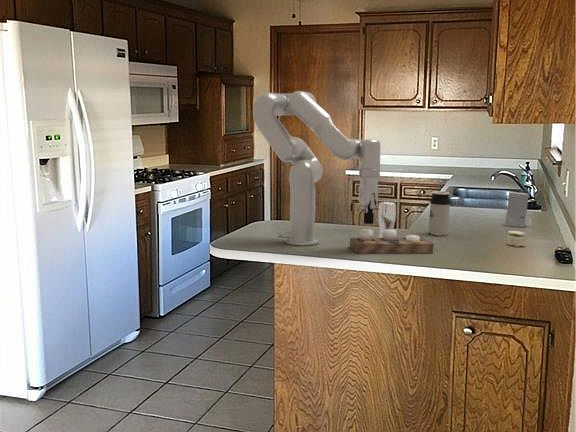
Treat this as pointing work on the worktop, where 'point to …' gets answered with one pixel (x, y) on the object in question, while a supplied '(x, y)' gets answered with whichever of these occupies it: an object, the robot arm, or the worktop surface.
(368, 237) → the button left
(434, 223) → the travel mug
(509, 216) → the skincare box
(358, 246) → the button board
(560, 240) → the worktop surface
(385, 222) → the beer glass
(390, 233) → the button middle
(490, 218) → the worktop surface
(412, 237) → the button right
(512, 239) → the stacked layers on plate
